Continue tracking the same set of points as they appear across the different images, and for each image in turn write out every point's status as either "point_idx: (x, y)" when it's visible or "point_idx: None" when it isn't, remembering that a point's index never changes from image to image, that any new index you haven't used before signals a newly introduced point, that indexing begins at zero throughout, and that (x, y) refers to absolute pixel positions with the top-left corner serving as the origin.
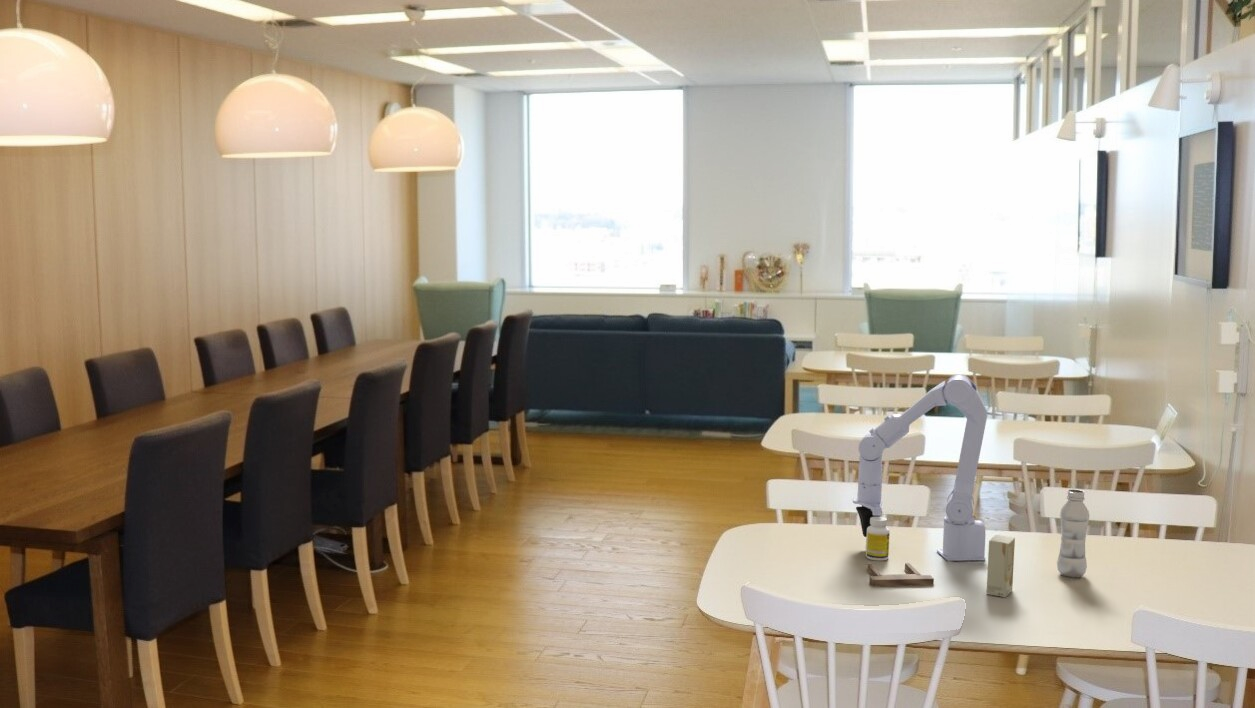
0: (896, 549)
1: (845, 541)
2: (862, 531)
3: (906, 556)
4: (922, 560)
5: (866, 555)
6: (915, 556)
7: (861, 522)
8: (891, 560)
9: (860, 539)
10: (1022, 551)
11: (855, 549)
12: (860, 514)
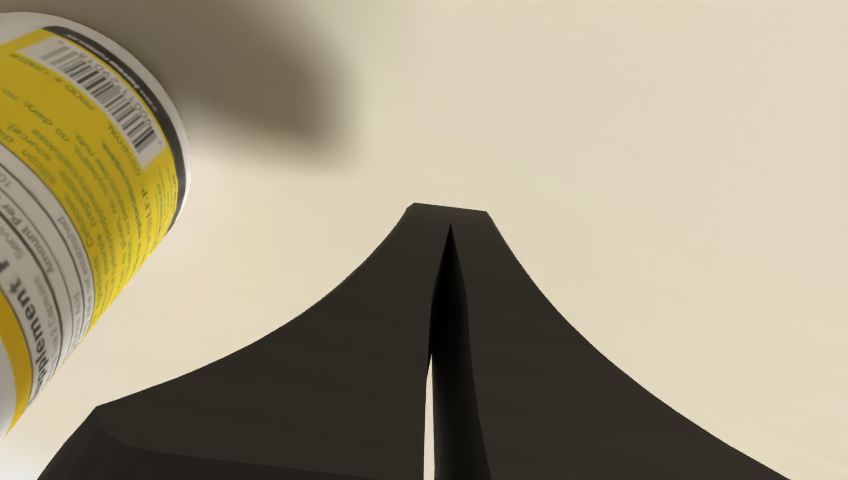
0: None
1: (795, 18)
2: (483, 227)
3: None
4: (55, 451)
5: (11, 14)
6: None
7: (486, 303)
8: None
9: (781, 231)
10: None
11: (417, 15)
12: (325, 405)
